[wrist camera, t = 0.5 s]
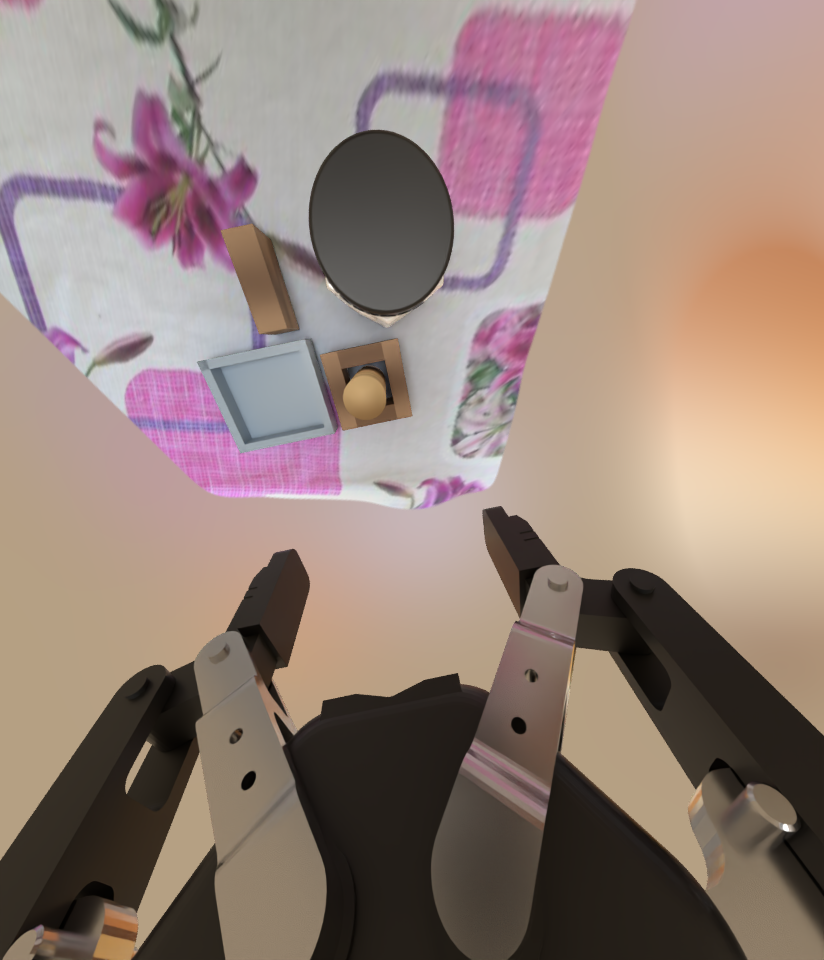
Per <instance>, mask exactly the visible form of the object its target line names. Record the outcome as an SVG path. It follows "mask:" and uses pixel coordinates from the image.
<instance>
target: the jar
mask: <svg viewBox="0 0 824 960" xmlns="http://www.w3.org/2000/svg"><path fill="white" fill-rule="evenodd" d="M309 229H310V236H311V241H312V245H313V249H314V252H315V255H316V258H317V260H318V263H319V266H320V268H321V270H322V272H323V274H324V275H325V278H326V285H327V288H328V289H329V290H330V291H331V292H332V293H333V294H334V295H335V296H337V297H338V298H339V299H340V300H341V301H342V302H343V303H345V304H346V305H348V306H349V307H350V308H352V309H354V310H355V311H357V312H358V313H360V314H361V315H363V316H365V317H367V318H369V319H371V320H373V321H375V322H377V323H379V324H380V325H382V326H384V327H385V328H389V327H390V326H391V325H393V324H394V323H396V322H397V321H398V320H400V319H401V318H403V317H404V316H405V315H407V314H408V313H410V312H411V311H412V310H414V309H415V308H417V307H418V306H420V305H421V304H422V303H424V302H425V301H426V300H427V299H428V298H429V297H430V296H432V295H433V294H434V293H435V292H436V291H437V290H438V289H439V288H440V287H441V286H442V285H443V282H444V273H445V271H446V268H447V266H448V263H449V260H450V256H451V252H452V247H453V239H454V216H453V209H452V204H451V199H450V195H449V192H448V189H447V186H446V184H445V182H444V179H443V177H442V175H441V173H440V171H439V170H438V168H437V167H436V165H435V163H434V162H433V161H432V160H431V158H430V157H429V156H428V155H427V154H426V153H425V151H424V150H423V149H421V148H420V147H419V146H418V145H417V144H415V143H414V142H413V141H411V140H410V139H408V138H406V137H404V136H402V135H400V134H397V133H394V132H390V131H386V130H368V131H363V132H360V133H356V134H354V135H352V136H350V137H348V138H346V139H345V140H343V141H342V142H341V143H339V144H338V145H337V146H336V147H335V148H334V149H333V150H332V151H331V152H330V153H329V155H328V156H327V157H326V159H325V160H324V162H323V163H322V165H321V167H320V169H319V171H318V173H317V175H316V178H315V181H314V184H313V187H312V191H311V196H310V203H309Z"/></svg>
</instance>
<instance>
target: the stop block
mask: <svg viewBox="0 0 824 960" xmlns="http://www.w3.org/2000/svg"><path fill="white" fill-rule="evenodd" d="M221 233H222V236H223V238H224V241H225V244H226V246H227V249H228V252H229V254H230V257H231V260H232V262H233V265H234V268H235V270H236V273H237V276H238V278H239V281H240V284H241V286H242V289H243V292H244V294H245V297H246V300H247V302H248V305H249V308H250V310H251V313H252V316H253V318H254V321H255V324H256V326H257V329H258V332H259V334H271V335H276V334H280V333H285V332H290V331H295V330H299V327H298V324H297V320H296V317H295V314H294V311H293V308H292V305H291V302H290V299H289V295H288V292H287V289H286V286H285V283H284V280H283V277H282V273H281V270H280V267H279V264H278V261H277V258H276V255H275V252H274V248H273V245H272V242H271V240H270V239H269V238H268V237H267V236H266V235H265V234H263V233H262V232H261V231H260V230H259V229H258V228H257V227H255V226H254V225H253V224H248V225H244V226H239V227H234V228H229V229H225V230H221Z"/></svg>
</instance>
